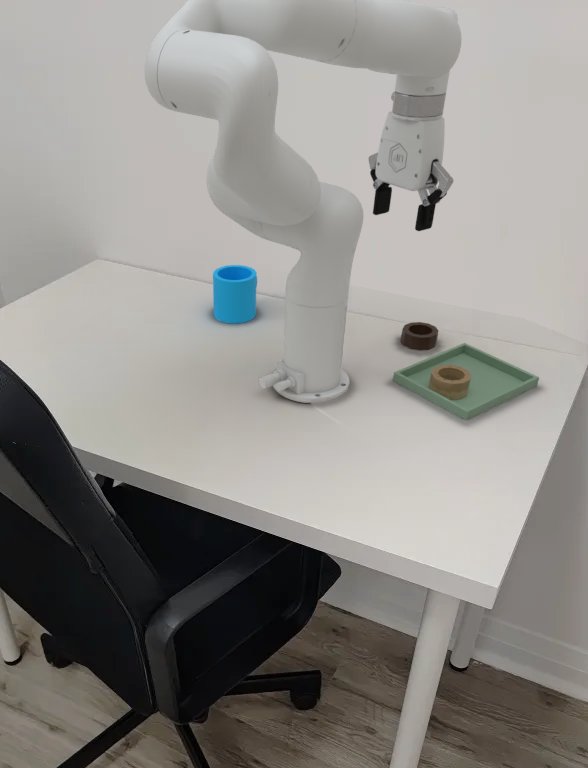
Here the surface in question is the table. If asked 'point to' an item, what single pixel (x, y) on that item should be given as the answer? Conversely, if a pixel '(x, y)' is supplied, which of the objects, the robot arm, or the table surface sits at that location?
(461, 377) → the birch ring
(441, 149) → the robot arm
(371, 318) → the table surface
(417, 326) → the walnut ring
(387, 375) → the table surface
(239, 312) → the mug
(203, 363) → the table surface
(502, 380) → the tray
